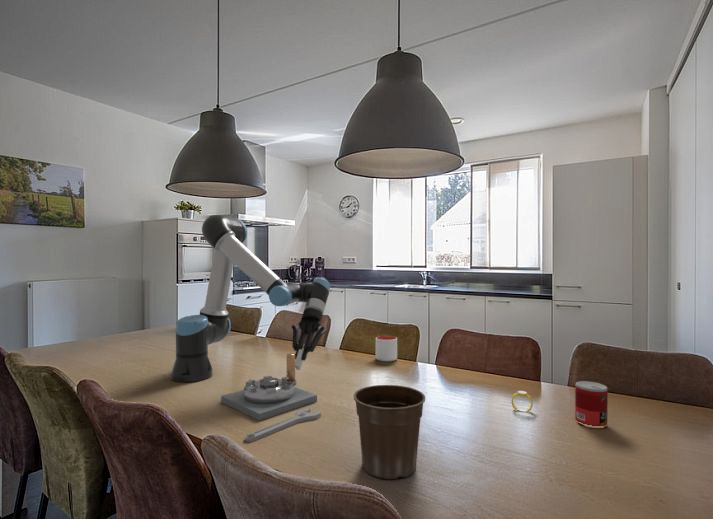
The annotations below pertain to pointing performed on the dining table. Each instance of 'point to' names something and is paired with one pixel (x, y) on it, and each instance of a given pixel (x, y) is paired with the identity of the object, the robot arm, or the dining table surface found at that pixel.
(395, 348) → the cup
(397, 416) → the plant pot
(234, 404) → the base plate
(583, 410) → the canned food
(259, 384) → the metal rotary base
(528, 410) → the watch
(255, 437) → the adjustable wrench
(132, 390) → the dining table surface
